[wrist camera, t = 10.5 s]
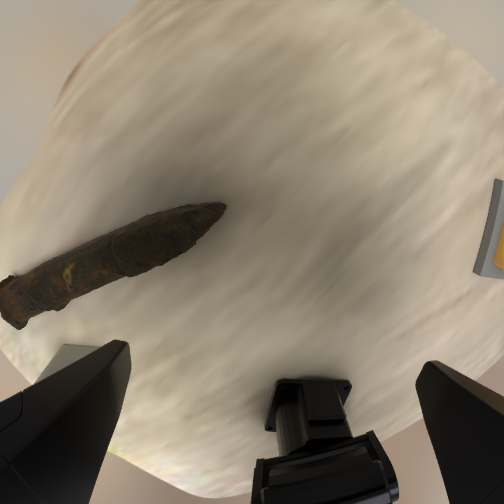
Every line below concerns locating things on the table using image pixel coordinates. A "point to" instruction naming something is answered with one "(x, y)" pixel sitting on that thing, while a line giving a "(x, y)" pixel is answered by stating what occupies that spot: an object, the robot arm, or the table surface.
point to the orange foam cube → (500, 251)
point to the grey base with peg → (492, 235)
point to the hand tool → (106, 261)
